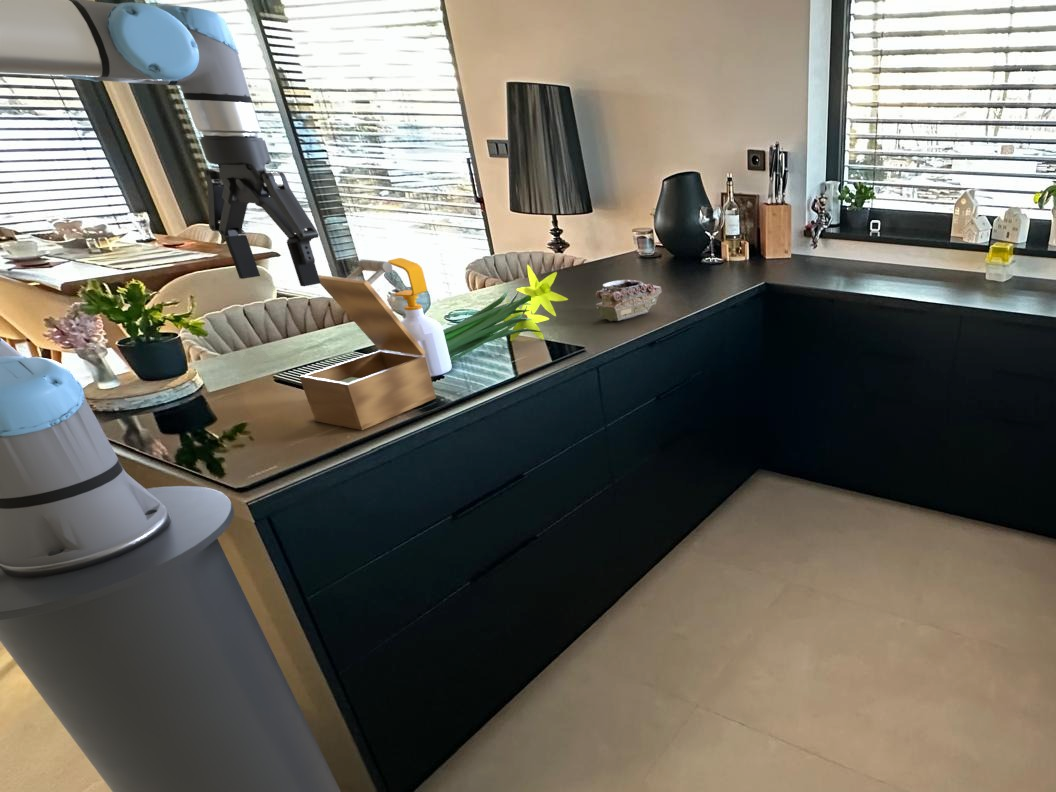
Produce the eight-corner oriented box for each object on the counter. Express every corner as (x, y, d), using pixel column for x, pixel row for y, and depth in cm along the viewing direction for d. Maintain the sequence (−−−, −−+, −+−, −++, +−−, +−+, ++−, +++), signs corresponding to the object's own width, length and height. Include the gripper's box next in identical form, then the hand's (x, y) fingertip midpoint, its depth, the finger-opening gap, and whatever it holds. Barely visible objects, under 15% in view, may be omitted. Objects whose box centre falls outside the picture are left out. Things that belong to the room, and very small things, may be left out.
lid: (363, 283, 109) (394, 254, 113) (314, 277, 112) (346, 249, 116) (423, 355, 122) (449, 327, 127) (378, 349, 125) (405, 321, 130)
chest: (362, 430, 113) (347, 384, 109) (315, 421, 116) (298, 376, 112) (436, 398, 127) (425, 356, 123) (392, 390, 130) (380, 349, 126)
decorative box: (587, 316, 185) (582, 283, 180) (642, 305, 198) (639, 274, 194) (613, 325, 177) (609, 290, 173) (669, 312, 191) (666, 280, 186)
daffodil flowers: (421, 354, 153) (543, 295, 172) (457, 394, 151) (578, 329, 169) (402, 308, 139) (538, 249, 157) (442, 351, 137) (576, 285, 155)
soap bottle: (424, 363, 145) (395, 254, 134) (460, 366, 144) (434, 256, 133) (397, 376, 137) (364, 262, 126) (435, 379, 136) (405, 264, 125)
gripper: (318, 137, 92) (359, 283, 101) (201, 133, 98) (249, 270, 108) (265, 136, 85) (314, 292, 95) (143, 132, 92) (200, 278, 101)
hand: (279, 281), depth 101 cm, fingers open, 13 cm apart
